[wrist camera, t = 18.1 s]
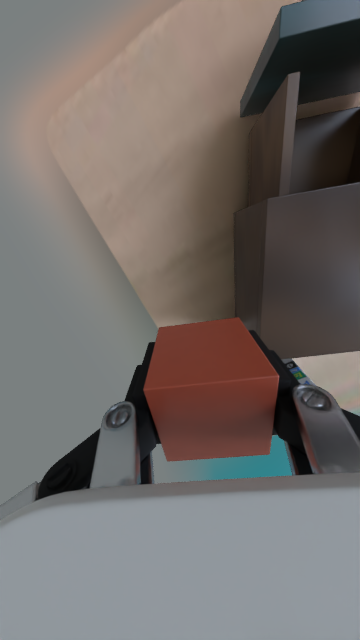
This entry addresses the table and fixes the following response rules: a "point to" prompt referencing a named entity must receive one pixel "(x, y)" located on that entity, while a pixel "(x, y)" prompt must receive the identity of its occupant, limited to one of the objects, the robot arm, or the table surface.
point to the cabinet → (301, 271)
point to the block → (211, 391)
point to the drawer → (305, 101)
